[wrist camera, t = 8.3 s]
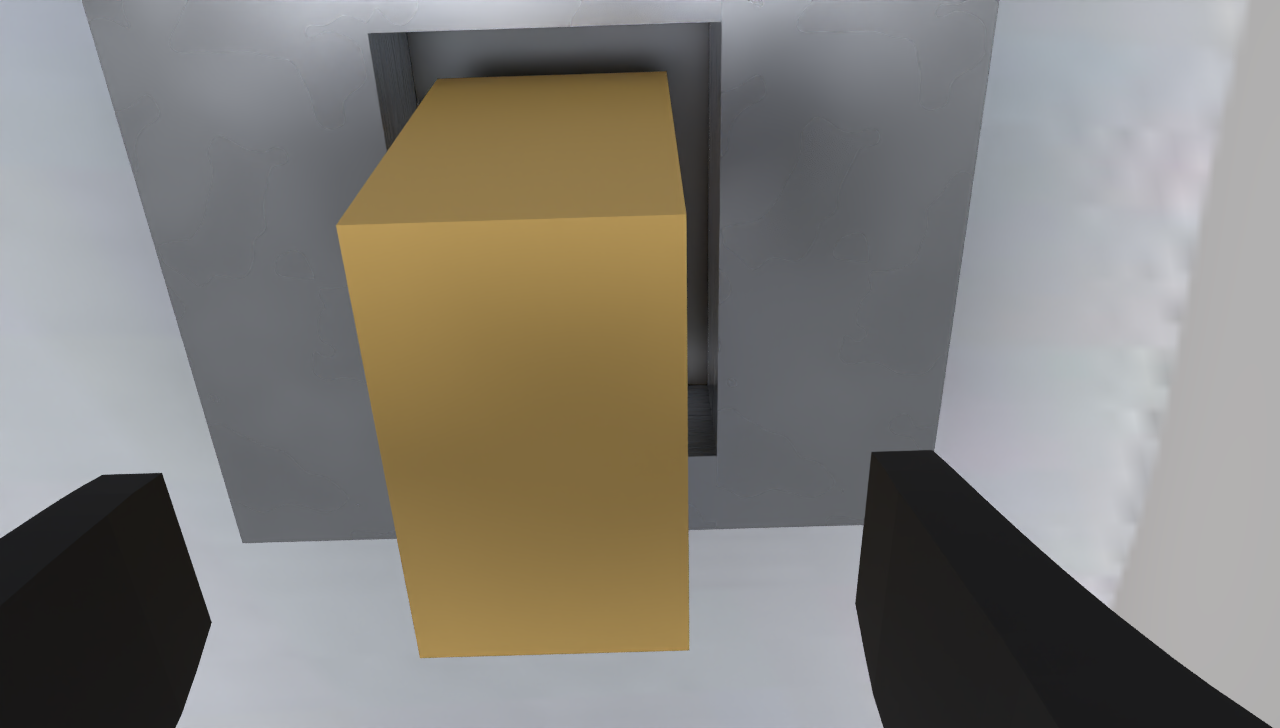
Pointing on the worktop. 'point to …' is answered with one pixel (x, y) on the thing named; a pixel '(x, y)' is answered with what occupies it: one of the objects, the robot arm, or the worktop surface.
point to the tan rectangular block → (531, 362)
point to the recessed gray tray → (737, 231)
